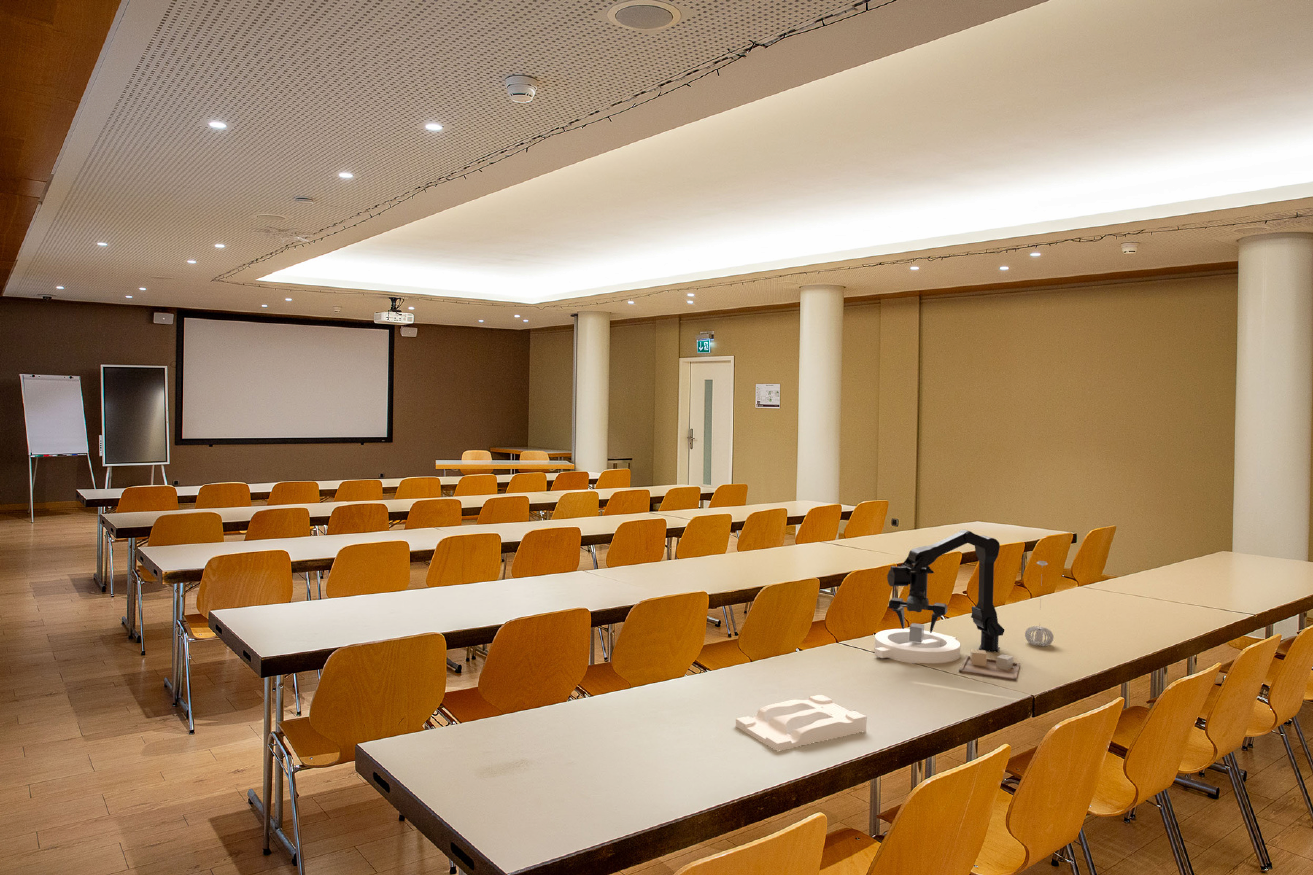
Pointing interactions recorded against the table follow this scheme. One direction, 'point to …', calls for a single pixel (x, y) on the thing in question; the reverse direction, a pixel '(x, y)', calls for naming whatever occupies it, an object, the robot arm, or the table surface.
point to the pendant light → (1039, 628)
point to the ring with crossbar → (916, 647)
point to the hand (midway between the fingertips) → (916, 630)
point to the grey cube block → (916, 632)
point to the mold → (801, 722)
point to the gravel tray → (989, 670)
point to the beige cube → (1004, 662)
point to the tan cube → (978, 657)
